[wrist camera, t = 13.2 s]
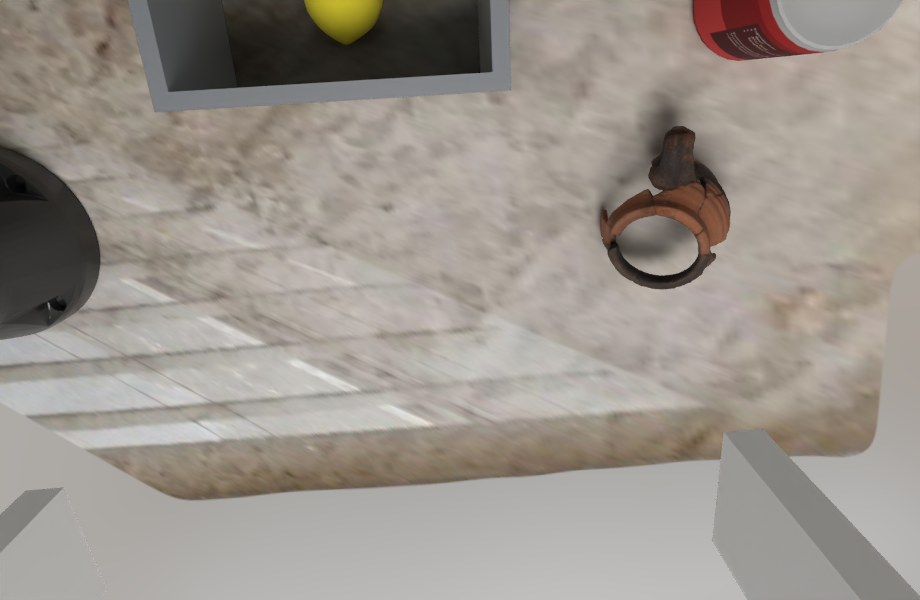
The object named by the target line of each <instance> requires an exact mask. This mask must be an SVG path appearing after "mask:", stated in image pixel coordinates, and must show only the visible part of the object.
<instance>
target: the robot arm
mask: <svg viewBox="0 0 920 600" xmlns="http://www.w3.org/2000/svg"><path fill="white" fill-rule="evenodd" d="M99 266H100V255H99V247H98V242H97V238H96V235H95V232H94V229H93V226H92V224H91V222H90V220H89V218H88V216H87V214H86V212H85V211H84V209H83V207H82V206H81V204H80V203H79V201H78V200H77V199H76V197H75V196H74V195H73V194H72V193H71V191H70V190H69V189H68V188H67V187H66V186H65V185H64V184H63V183H62V182H61V181H60V180H59V179H58V178H57V177H55V176H54V175H53V174H52V173H50V172H49V171H48V170H46V169H45V168H44V167H42V166H40V165H39V164H37V163H36V162H34V161H32V160H30V159H29V158H26V157H24V156H22V155H20V154H18V153H15V152H13V151H10V150H7V149H3V148H0V340H3V339H9V338H15V337H22V336H27V335H31V334H35V333H38V332H41V331H44V330H46V329H48V328H50V327H52V326H54V325H56V324H58V323H59V322H61V321H63V320H64V319H66V318H68V317H69V316H71V315H72V314H74V313H75V312H76V311H78V310H79V309H80V308H81V307H82V306H83V305H84V304H85V303H86V301H87V300H88V299H89V297H90V296H91V294H92V292H93V290H94V288H95V285H96V282H97V279H98V274H99ZM712 541H713V542H714V544H715V546H716V548H717V549H718V551H719V553H720V554H721V556H722V558H723V559H724V561H725V563H726V564H727V566H728V568H729V569H730V571H731V573H732V575H733V576H734V578H735V580H736V581H737V583H738V585H739V586H740V588H741V590H742V591H743V593H744V595H745V596H746V598H747V600H920V596H919V595H918V594H917V592H916V591H914V589H913V588H912V587H911V586H910V585H909V584H908V583H907V582H906V581H905V580H904V579H903V578H902V577H901V575H900V574H898V572H897V571H896V570H895V569H894V568H893V567H892V566H891V565H890V564H889V563H888V562H887V561H886V560H885V558H884V557H883V556H882V555H881V554H880V553H879V552H878V551H877V550H876V549H875V548H874V547H873V546H872V545H871V544H870V543H869V541H868V540H867V539H866V538H865V537H864V536H863V535H862V534H861V533H860V532H859V531H858V530H857V529H856V528H855V527H854V526H853V524H852V523H851V522H850V521H849V520H848V519H847V518H846V517H845V516H844V515H843V514H842V513H841V512H840V511H839V510H838V509H837V507H836V506H835V505H834V504H833V503H832V502H831V501H830V500H829V499H828V498H827V497H826V496H825V495H824V494H823V493H822V491H821V490H820V489H819V488H818V487H817V486H816V485H815V484H814V483H813V482H812V481H811V480H810V479H809V478H808V477H807V476H806V475H805V473H804V472H803V471H802V470H801V469H800V468H799V467H798V466H797V465H796V464H795V463H794V462H793V461H792V460H791V459H790V457H789V456H788V455H787V454H786V453H785V452H784V451H783V450H782V449H781V448H780V447H779V446H778V445H777V444H776V443H775V442H774V440H773V439H772V438H771V437H770V436H769V435H768V434H767V433H766V432H765V431H764V430H763V429H756V430H744V431H732V432H724V434H723V444H722V453H721V463H720V473H719V482H718V491H717V502H716V510H715V520H714V530H713V539H712ZM106 591H107V589H106V586H105V584H104V581H103V579H102V577H101V574H100V572H99V570H98V567H97V565H96V563H95V560H94V558H93V555H92V553H91V551H90V548H89V546H88V544H87V541H86V539H85V537H84V534H83V532H82V529H81V527H80V525H79V522H78V520H77V518H76V515H75V513H74V511H73V508H72V506H71V503H70V501H69V499H68V496H67V494H66V492H65V489H64V488H54V489H53V488H52V489H42V490H30V491H25V492H24V493H23V494H22V495H21V496H20V497H19V498H17V499H16V500H15V501H14V502H13V503H12V504H11V505H10V506H9V507H8V508H7V509H6V510H5V511H4V512H3V513H2V514H1V515H0V600H101V599H102V597H103V595H104V594H105V593H106Z"/></svg>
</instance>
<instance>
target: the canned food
mask: <svg viewBox="0 0 920 600" xmlns="http://www.w3.org/2000/svg"><path fill="white" fill-rule="evenodd" d="M902 1H903V0H693V16H694V23H695V26H696V30H697V32H698V34H699V36H700V38H701V40H702V41H703V42H704V44H705V45H706V46H707V47H708V48H709V49H710V50H712V51H713V52H715V53H716V54H717V55H719V56H721V57H724V58H726V59H729V60H736V61H740V60H752V59H762V58H772V57H782V56H792V55H802V54H812V53H822V52H828V51H836V50H839V49H842V48H846V47H849V46H852V45H855V44H857V43H859V42H861V41H863V40H865V39H867V38H868V37H870V36H871V35H872V34H874V33H875V32H876V31H878V30H879V29H880V28H881V27H882V26H883V25H884V24H885V23H886V22H887V21H888V20H889V19H890V18H891V17H892V15H893V14H894V13H895V11H896V10H897V8H898V7H899V6H900V4H901V3H902Z"/></svg>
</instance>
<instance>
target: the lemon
mask: <svg viewBox="0 0 920 600" xmlns="http://www.w3.org/2000/svg"><path fill="white" fill-rule="evenodd" d="M304 3H305V6H306V9H307V12H308V13H309V15H310V16H311V18H312V19H313V21H314V22H315V24H316V25H317V26H318V27H319V28H320V29H321V30H322V31H324V32H325V33H326V34H327V35H328V36H330V37H331V38H333V39H335V40H336V41H338V42H340V43H342V44H344V45H348V44H350V43H353V42H354V41H356V40H357V39H359V38H360V37H362V36H363V35H364V34H366V33H367V32H368V31H369V30H370V29H372V28H373V26H374V25H375V23H376V21H377V19H378V18H379V16H380V14H381V9H382V5H383V0H304Z"/></svg>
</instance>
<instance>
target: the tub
mask: <svg viewBox="0 0 920 600" xmlns="http://www.w3.org/2000/svg"><path fill="white" fill-rule="evenodd" d="M477 1H478V25H479V50H480V73H471V74H454V75H438V76H422V77H405V78H389V79H373V80H357V81H340V82H324V83H308V84H291V85H275V86H259V87H243V88H238V86H237V81H236V76H235V70H234V65H233V60H232V54H231V49H230V44H229V39H228V33H227V28H226V23H225V18H224V12H223V7H222V2H221V0H128V5H129V9H130V13H131V17H132V21H133V25H134V29H135V33H136V37H137V41H138V46H139V50H140V54H141V58H142V62H143V66H144V70H145V74H146V78H147V82H148V87H149V91H150V95H151V99H152V103H153V107H154V111H155V112H167V111H183V110H199V109H216V108H232V107H248V106H264V105H281V104H297V103H313V102H329V101H346V100H362V99H378V98H395V97H411V96H427V95H443V94H460V93H476V92H492V91H508V90H511V66H510V21H509V0H477Z"/></svg>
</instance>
